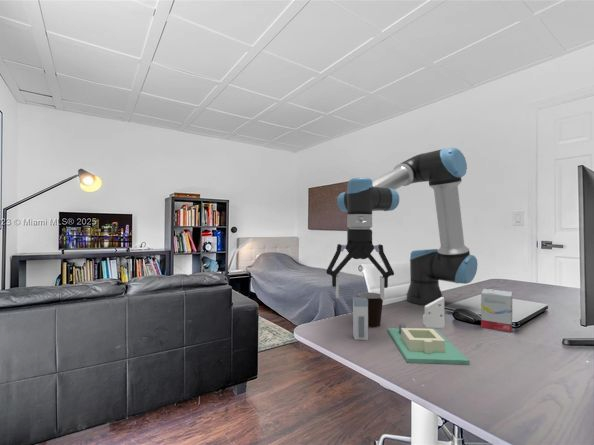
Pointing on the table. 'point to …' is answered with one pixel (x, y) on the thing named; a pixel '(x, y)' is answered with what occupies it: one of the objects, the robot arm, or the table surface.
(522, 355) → the table surface
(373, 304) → the coffee mug
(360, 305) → the plug
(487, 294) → the ink box
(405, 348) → the board
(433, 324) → the white wedge bracket
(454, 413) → the table surface
